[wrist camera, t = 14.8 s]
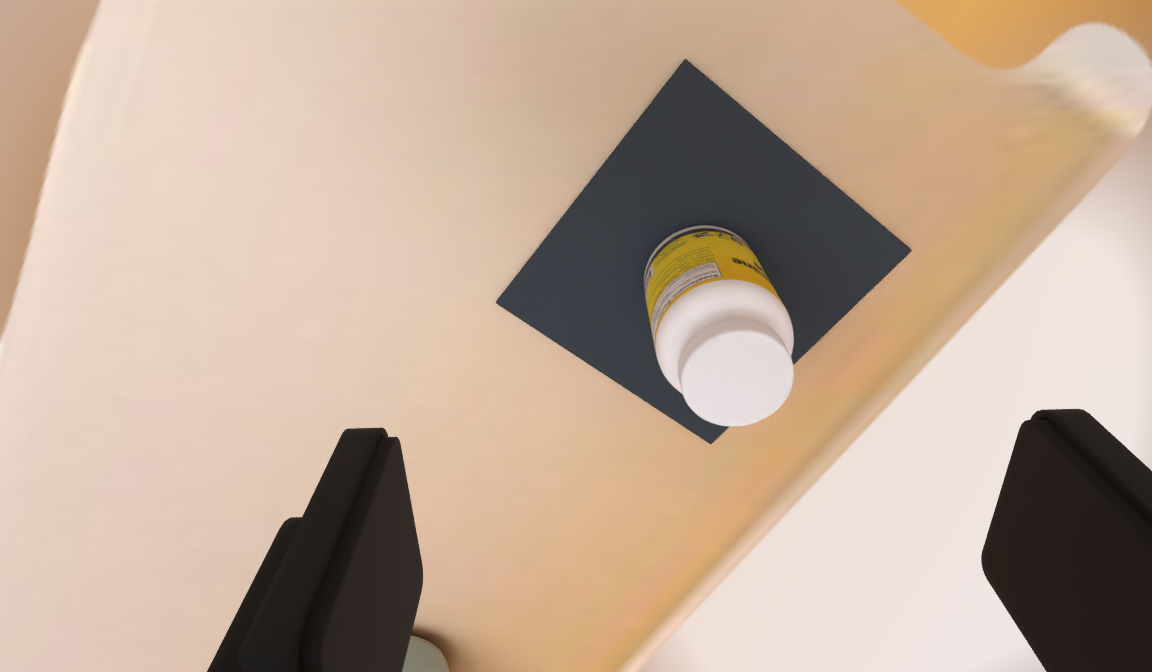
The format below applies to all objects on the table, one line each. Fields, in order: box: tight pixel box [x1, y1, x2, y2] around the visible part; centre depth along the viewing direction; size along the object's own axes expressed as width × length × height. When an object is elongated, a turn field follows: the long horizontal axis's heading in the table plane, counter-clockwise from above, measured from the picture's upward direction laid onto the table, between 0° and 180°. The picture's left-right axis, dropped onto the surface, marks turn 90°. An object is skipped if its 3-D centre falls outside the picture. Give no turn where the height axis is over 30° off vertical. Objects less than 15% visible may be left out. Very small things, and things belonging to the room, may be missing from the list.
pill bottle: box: [644, 225, 794, 427], centre depth 35 cm, size 6×6×11 cm
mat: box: [496, 59, 912, 444], centre depth 40 cm, size 16×16×1 cm
